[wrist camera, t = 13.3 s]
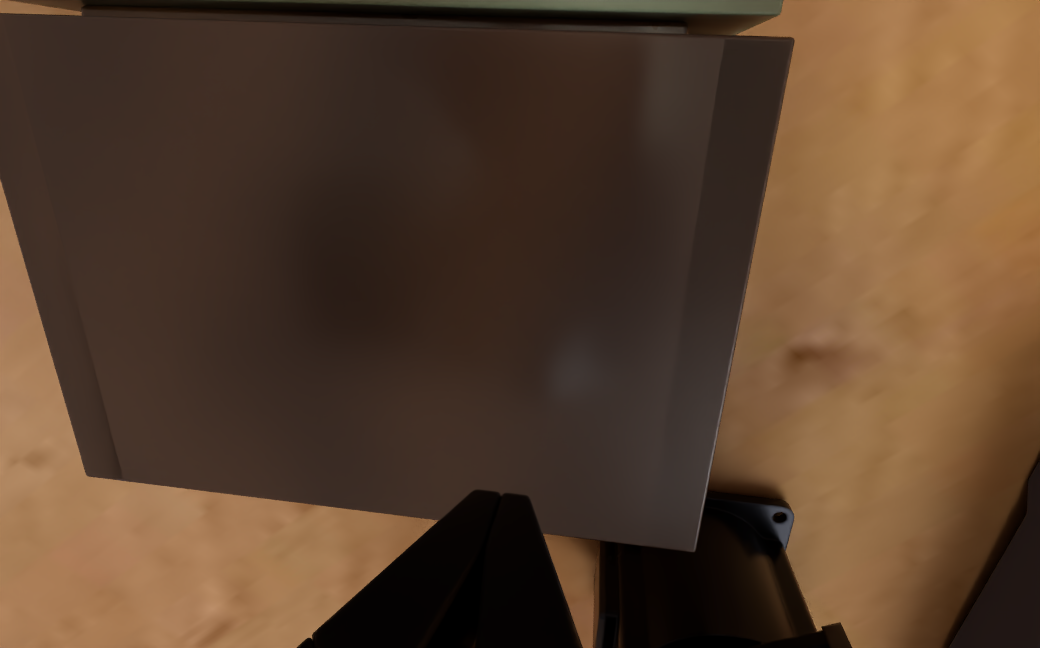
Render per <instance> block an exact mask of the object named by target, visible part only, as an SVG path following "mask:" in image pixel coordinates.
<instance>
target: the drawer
mask: <svg viewBox="0 0 1040 648" xmlns="http://www.w3.org/2000/svg"><path fill="white" fill-rule="evenodd" d="M10 1H17V2H23V3H29V4H36V5H42V6H48V7H55V8H61V9H67V10H74V11H80V12H82V16H108V17H141V18H174V19H207V20H240V21H273V22H306V23H340V24H373V25H406V26H439V27H472V28H505V29H538V30H571V31H604V32H637V33H670V34H704V35H736V34H738V33H740V32H743V31H745V30H747V29H749V28H751V27H754V26H756V25H758V24H760V23H763V22H765V21H767V20H769V19H771V18H774V17H776V16H778V15H780V13H781V9H782V4H783V0H10Z"/></svg>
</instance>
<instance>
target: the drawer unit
mask: <svg viewBox="0 0 1040 648" xmlns="http://www.w3.org/2000/svg"><path fill="white" fill-rule="evenodd" d="M793 47H794V38H792V37H770V36H737V35H704V34H670V33H637V32H604V31H571V30H538V29H505V28H472V27H439V26H406V25H373V24H340V23H306V22H273V21H240V20H207V19H174V18H141V17H108V16H75V15H42V14H9V13H0V179H1V182H2V186H3V189H4V193H5V196H6V200H7V203H8V207H9V210H10V214H11V217H12V220H13V224H14V227H15V231H16V234H17V238H18V241H19V245H20V248H21V252H22V255H23V258H24V262H25V265H26V269H27V272H28V276H29V279H30V283H31V286H32V289H33V293H34V296H35V300H36V303H37V307H38V310H39V314H40V317H41V321H42V324H43V327H44V331H45V334H46V338H47V341H48V345H49V348H50V352H51V355H52V358H53V362H54V365H55V369H56V372H57V376H58V379H59V383H60V386H61V390H62V393H63V396H64V400H65V403H66V407H67V410H68V414H69V417H70V421H71V424H72V428H73V431H74V434H75V438H76V441H77V445H78V448H79V452H80V455H81V459H82V462H83V465H84V469H85V472H86V475H87V476H89V477H97V478H105V479H113V480H121V481H129V482H137V483H145V484H153V485H161V486H169V487H177V488H185V489H193V490H201V491H209V492H217V493H225V494H233V495H241V496H249V497H257V498H265V499H273V500H281V501H289V502H297V503H305V504H313V505H320V506H328V507H336V508H344V509H352V510H360V511H368V512H376V513H384V514H392V515H400V516H408V517H416V518H424V519H432V520H440V519H441V518H443V517H444V516H445V515H446V514H447V513H448V512H449V511H450V510H451V509H453V508H454V507H455V506H456V505H457V504H458V503H459V502H460V501H462V500H463V499H464V498H465V497H466V496H467V495H468V494H469V493H470V492H472V491H473V490H475V489H481V490H489V491H497V492H499V493H500V495H501V496H502V494H504V493H514V494H523V495H527V496H529V498H530V499H531V502H532V505H533V508H534V511H535V513H536V516H537V519H538V522H539V525H540V528H541V530H542V533H544V534H551V535H559V536H567V537H575V538H583V539H591V540H599V541H607V542H615V543H623V544H631V545H639V546H647V547H655V548H663V549H671V550H679V551H687V552H695V550H696V545H697V540H698V535H699V530H700V525H701V520H702V515H703V509H704V504H705V499H706V494H707V489H708V484H709V479H710V473H711V468H712V463H713V458H714V453H715V448H716V443H717V437H718V432H719V427H720V422H721V417H722V412H723V407H724V401H725V396H726V391H727V386H728V381H729V376H730V371H731V366H732V360H733V355H734V350H735V345H736V340H737V335H738V330H739V324H740V319H741V314H742V309H743V304H744V299H745V294H746V288H747V283H748V278H749V273H750V268H751V263H752V258H753V252H754V247H755V242H756V237H757V232H758V227H759V222H760V216H761V211H762V206H763V201H764V196H765V191H766V186H767V180H768V175H769V170H770V165H771V160H772V155H773V150H774V144H775V139H776V134H777V129H778V124H779V119H780V114H781V108H782V103H783V98H784V93H785V88H786V83H787V78H788V72H789V67H790V62H791V57H792V52H793Z"/></svg>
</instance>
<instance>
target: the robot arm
mask: <svg viewBox="0 0 1040 648" xmlns="http://www.w3.org/2000/svg"><path fill="white" fill-rule="evenodd" d="M777 512H783V514H781V515H780V516H774V514H775V513H777ZM793 521H794V514H793V512H792V509H791V507H790V506H789V504H788V503H787V502H785V501H783V500H778V499H770V498H761V497H752V496H743V495H735V494H726V493H717V492H708V491H707V494H706V499H705V504H704V509H703V515H702V520H701V525H700V530H699V535H698V540H697V545H696V550H695V552H687V551H679V550H671V549H663V548H655V547H647V546H639V545H631V544H623V543H615V542H607V541H599V543H598V552H597V561H596V570H595V578H594V623H593V648H852V646H851V644H850V642H849V640H848V638H847V636H846V634H845V631H844V629H843V627H842V625H841V623H835V624H831V625H826V626H822V631H817V630H816V628H815V625H814V623H813V620H812V617H811V615H810V612H809V610H808V607H807V605H806V602H805V600H804V597H803V595H802V592H801V590H800V587H799V585H798V582H797V580H796V577H795V575H794V572H793V570H792V567H791V565H790V562H789V560H788V557H787V555H786V552H785V551H786V547H787V543H788V540H789V536H790V532H791V528H792V525H793ZM297 648H583V647H582V644H581V641H580V639H579V636H578V633H577V630H576V627H575V624H574V622H573V619H572V616H571V613H570V610H569V607H568V604H567V602H566V599H565V596H564V593H563V590H562V587H561V585H560V582H559V579H558V576H557V573H556V570H555V567H554V565H553V562H552V559H551V556H550V553H549V550H548V548H547V545H546V542H545V539H544V536H543V533H542V530H541V528H540V525H539V522H538V519H537V516H536V513H535V511H534V508H533V505H532V502H531V499H530V498H529V496H527V495H523V494H514V493H504V494H502V496H501V495H500V493H499V492H497V491H489V490H481V489H475V490H473V491H472V492H470V493H469V494H468V495H467V496H466V497H465V498H464V499H463V500H462V501H460V502H459V503H458V504H457V505H456V506H455V507H454V508H453V509H451V510H450V511H449V512H448V513H447V514H446V515H445V516H444V517H443V518H441V519H440V520H439V521H438V522H437V523H436V524H435V525H434V526H432V527H431V528H430V529H429V530H428V531H427V532H426V533H425V534H423V535H422V536H421V537H420V538H419V539H418V540H417V541H416V542H415V543H413V544H412V545H411V546H410V547H409V548H408V549H407V550H406V551H404V552H403V553H402V554H401V555H400V556H399V557H398V558H397V559H396V560H394V561H393V562H392V563H391V564H390V565H389V566H388V567H387V568H385V569H384V570H383V571H382V572H381V573H380V574H379V575H378V576H376V577H375V578H374V579H373V580H372V581H371V582H370V583H369V584H368V585H366V586H365V587H364V588H363V589H362V590H361V591H360V592H359V593H357V594H356V595H355V596H354V597H353V598H352V599H351V600H350V601H349V602H347V603H346V604H345V605H344V606H343V607H342V608H341V609H340V610H338V611H337V612H336V613H335V614H334V615H333V616H332V617H331V618H330V619H328V620H327V621H326V622H325V623H324V624H323V625H322V626H321V627H319V628H318V629H317V630H316V631H315V632H314V633H313V634H312V639H311V638H307V639H306V640H305V641H303V642H302V643H301V644H300V645H299V646H298V647H297Z"/></svg>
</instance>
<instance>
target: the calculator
mask: <svg viewBox="0 0 1040 648" xmlns="http://www.w3.org/2000/svg"><path fill="white" fill-rule="evenodd" d="M949 648H1040V461H1039V462H1038V464H1037V466H1036V468H1035V469H1034V471H1033V473H1032V475H1031V476H1030V478H1029V480H1028V499H1027V514H1026V516H1025V518H1024V520H1023V521H1022V523H1021V525H1020V527H1019V528H1018V530H1017V532H1016V534H1015V535H1014V537H1013V539H1012V540H1011V542H1010V544H1009V546H1008V547H1007V549H1006V551H1005V552H1004V554H1003V556H1002V558H1001V559H1000V561H999V563H998V564H997V566H996V568H995V570H994V571H993V573H992V575H991V576H990V578H989V580H988V581H987V583H986V585H985V587H984V588H983V590H982V592H981V593H980V595H979V597H978V599H977V600H976V602H975V604H974V605H973V607H972V609H971V611H970V612H969V614H968V616H967V617H966V619H965V621H964V623H963V624H962V626H961V628H960V629H959V631H958V633H957V635H956V636H955V638H954V640H953V641H952V643H951V645H950V647H949Z"/></svg>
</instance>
